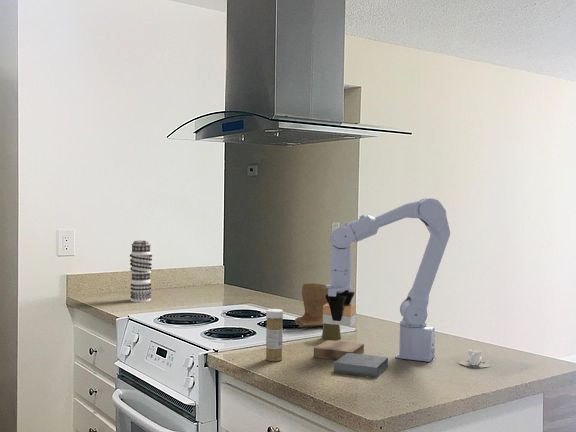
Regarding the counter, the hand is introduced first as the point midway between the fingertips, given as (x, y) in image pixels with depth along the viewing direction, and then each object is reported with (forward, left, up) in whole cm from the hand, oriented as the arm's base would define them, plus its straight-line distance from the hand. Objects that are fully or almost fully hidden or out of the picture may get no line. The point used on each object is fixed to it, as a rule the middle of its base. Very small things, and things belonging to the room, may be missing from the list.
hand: (339, 318), depth 174 cm
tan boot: (+21, -35, -10) cm, 42 cm away
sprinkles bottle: (+14, +13, -10) cm, 22 cm away
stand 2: (-10, +12, -10) cm, 19 cm away
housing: (0, 0, -1) cm, 1 cm away
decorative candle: (+105, -51, -10) cm, 117 cm away
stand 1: (0, 0, -10) cm, 10 cm away
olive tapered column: (+9, -19, -10) cm, 23 cm away
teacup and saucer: (-38, -8, -11) cm, 40 cm away
